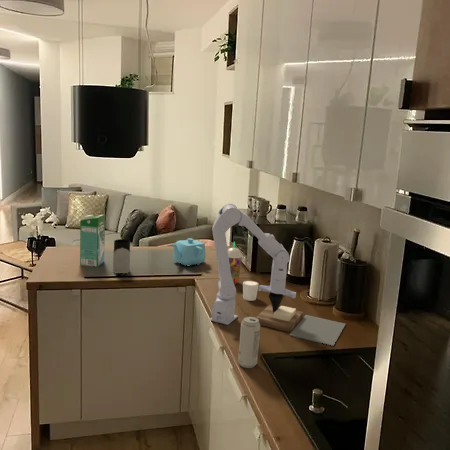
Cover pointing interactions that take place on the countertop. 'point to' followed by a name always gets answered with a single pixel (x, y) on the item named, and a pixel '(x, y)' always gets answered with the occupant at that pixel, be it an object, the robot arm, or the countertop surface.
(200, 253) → the teapot
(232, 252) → the smoothie
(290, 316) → the cream rectangular block
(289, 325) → the wooden cutting board
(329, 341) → the mat
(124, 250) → the holder
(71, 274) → the countertop surface
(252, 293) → the white cup
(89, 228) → the milk carton
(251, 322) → the energy drink can
